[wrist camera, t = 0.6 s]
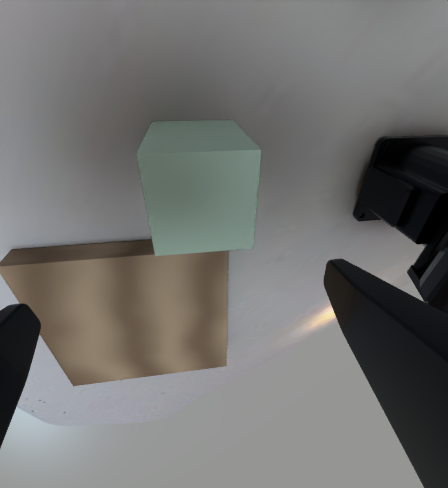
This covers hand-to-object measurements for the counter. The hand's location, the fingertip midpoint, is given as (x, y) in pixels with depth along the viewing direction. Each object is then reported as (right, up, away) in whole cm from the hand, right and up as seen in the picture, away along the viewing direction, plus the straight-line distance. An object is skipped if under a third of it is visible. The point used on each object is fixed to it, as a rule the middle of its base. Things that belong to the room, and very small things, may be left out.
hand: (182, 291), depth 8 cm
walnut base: (-7, -5, +17) cm, 19 cm away
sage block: (-1, +7, +10) cm, 12 cm away
